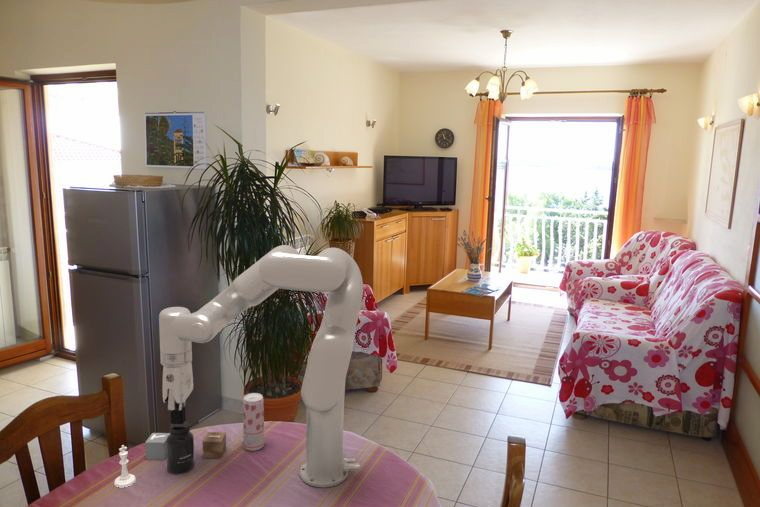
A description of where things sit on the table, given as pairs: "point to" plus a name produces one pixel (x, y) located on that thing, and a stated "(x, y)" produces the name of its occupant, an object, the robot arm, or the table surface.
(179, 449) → the supplement bottle
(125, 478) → the chess piece
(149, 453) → the slate-grey numbered block
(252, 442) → the beverage can
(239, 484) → the table surface
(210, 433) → the walnut numbered block
